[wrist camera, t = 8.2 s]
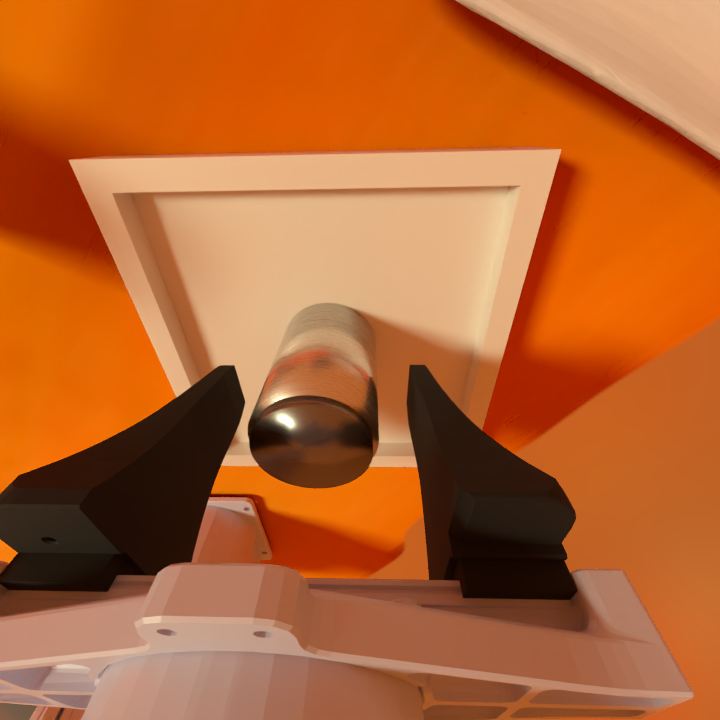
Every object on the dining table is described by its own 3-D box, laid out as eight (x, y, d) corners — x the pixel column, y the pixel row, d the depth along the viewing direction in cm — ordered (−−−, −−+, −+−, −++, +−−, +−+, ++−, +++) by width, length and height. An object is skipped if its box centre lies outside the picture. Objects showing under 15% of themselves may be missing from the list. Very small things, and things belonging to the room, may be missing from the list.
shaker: (375, 379, 17) (378, 492, 12) (291, 379, 17) (258, 490, 12) (376, 302, 15) (380, 401, 9) (278, 303, 15) (227, 401, 9)
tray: (463, 441, 21) (471, 467, 20) (219, 440, 22) (207, 465, 20) (535, 146, 12) (561, 149, 10) (107, 155, 12) (68, 159, 11)
